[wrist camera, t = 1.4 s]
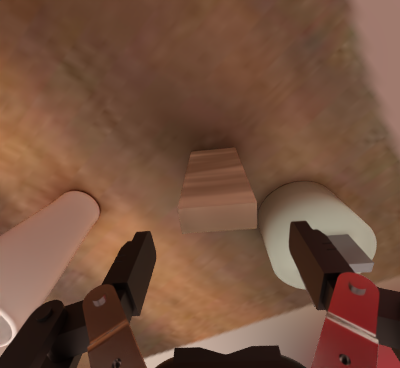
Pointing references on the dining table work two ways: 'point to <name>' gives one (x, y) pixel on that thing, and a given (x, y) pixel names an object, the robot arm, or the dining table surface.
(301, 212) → the cream plug cylinder
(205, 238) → the dining table surface
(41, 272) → the drinking glass
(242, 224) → the brown wooden block
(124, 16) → the dining table surface
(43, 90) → the dining table surface
